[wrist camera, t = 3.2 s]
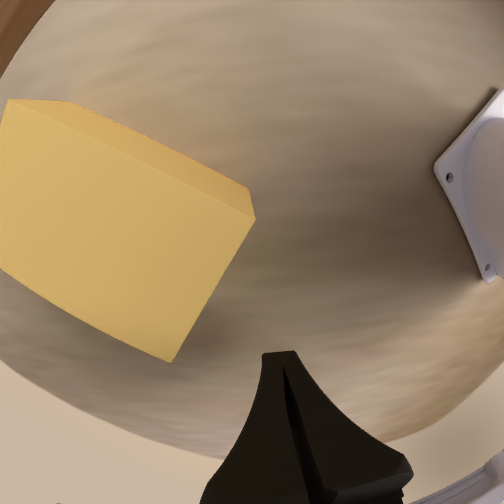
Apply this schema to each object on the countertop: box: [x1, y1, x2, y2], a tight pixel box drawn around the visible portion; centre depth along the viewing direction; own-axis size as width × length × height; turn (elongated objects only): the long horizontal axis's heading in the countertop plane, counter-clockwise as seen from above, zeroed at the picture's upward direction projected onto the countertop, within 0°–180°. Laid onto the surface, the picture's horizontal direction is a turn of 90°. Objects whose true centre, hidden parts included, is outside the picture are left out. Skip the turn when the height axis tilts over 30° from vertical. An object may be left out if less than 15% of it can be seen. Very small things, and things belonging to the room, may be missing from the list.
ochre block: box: [0, 99, 256, 363], centre depth 10 cm, size 9×6×4 cm, turn 60°
